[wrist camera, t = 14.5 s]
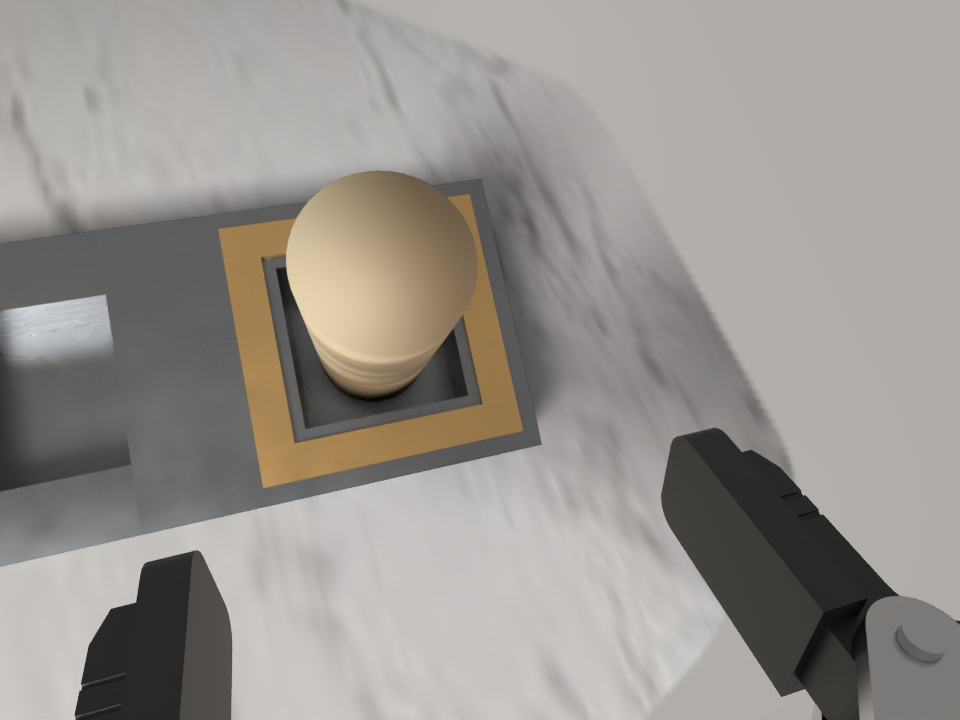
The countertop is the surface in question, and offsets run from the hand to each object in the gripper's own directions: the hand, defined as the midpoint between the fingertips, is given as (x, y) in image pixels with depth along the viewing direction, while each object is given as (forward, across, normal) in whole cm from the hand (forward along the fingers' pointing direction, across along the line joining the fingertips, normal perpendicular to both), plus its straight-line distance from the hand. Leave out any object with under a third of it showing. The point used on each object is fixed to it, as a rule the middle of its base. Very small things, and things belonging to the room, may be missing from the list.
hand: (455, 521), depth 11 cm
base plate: (+15, +6, +7) cm, 17 cm away
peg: (+14, 0, +6) cm, 15 cm away
